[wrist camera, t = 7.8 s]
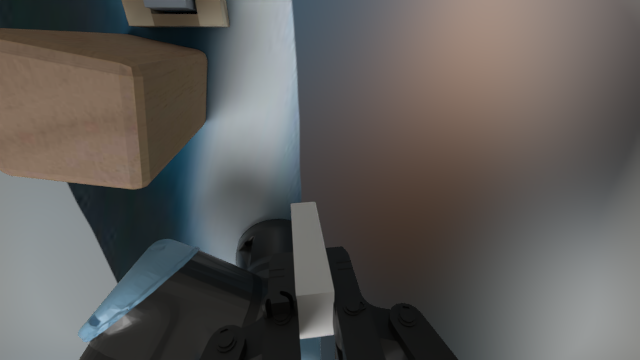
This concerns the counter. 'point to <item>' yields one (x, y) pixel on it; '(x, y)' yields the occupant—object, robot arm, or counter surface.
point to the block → (96, 105)
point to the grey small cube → (171, 5)
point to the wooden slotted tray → (178, 15)
